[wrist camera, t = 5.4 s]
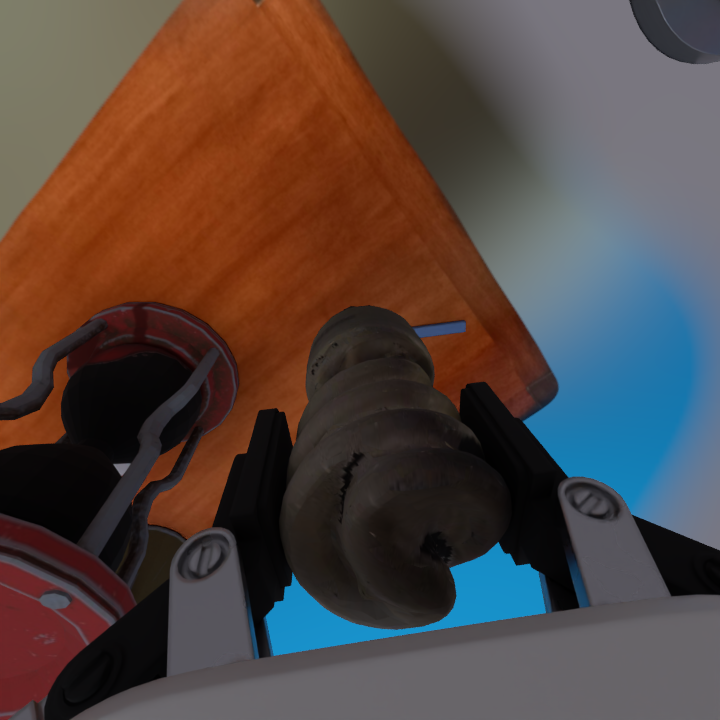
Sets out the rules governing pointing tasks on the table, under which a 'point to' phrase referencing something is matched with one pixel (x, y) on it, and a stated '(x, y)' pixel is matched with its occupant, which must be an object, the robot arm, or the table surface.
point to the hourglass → (96, 480)
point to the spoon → (440, 329)
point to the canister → (154, 561)
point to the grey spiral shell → (384, 479)
